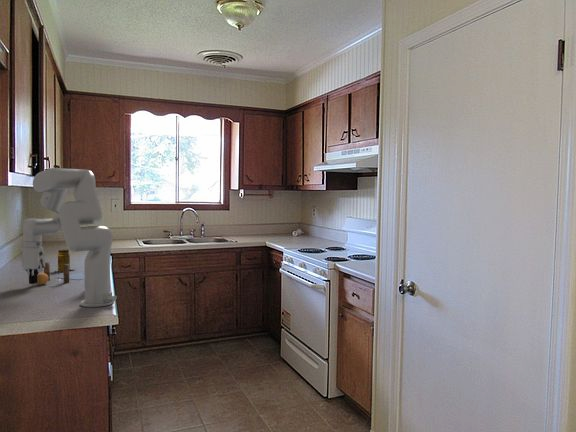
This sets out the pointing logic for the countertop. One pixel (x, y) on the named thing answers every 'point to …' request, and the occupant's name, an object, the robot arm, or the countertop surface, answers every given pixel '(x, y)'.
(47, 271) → the left post
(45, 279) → the ball
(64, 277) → the right post
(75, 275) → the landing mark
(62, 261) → the condiment
